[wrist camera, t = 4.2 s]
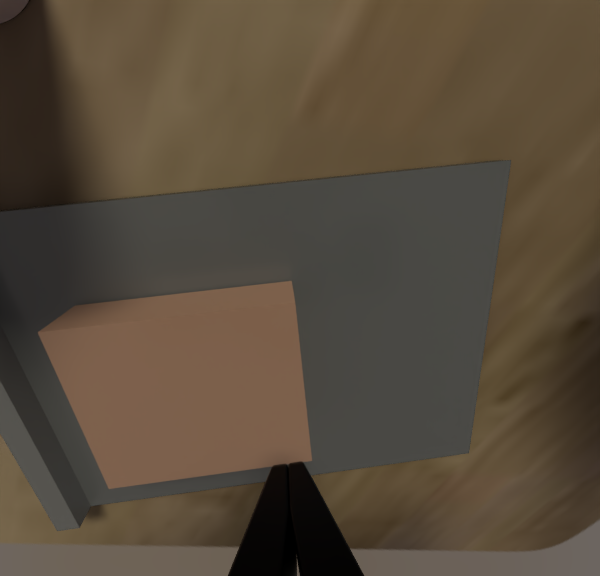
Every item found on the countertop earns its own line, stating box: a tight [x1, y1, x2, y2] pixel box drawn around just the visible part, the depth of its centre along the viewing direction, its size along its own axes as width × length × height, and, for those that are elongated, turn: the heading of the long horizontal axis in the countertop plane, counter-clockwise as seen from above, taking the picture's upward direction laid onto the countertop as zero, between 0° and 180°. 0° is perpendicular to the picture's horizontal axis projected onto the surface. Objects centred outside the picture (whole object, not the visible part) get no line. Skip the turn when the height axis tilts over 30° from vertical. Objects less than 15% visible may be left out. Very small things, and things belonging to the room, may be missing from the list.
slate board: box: [0, 160, 511, 531], centre depth 13 cm, size 20×14×2 cm
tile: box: [38, 281, 312, 489], centre depth 12 cm, size 2×7×8 cm
